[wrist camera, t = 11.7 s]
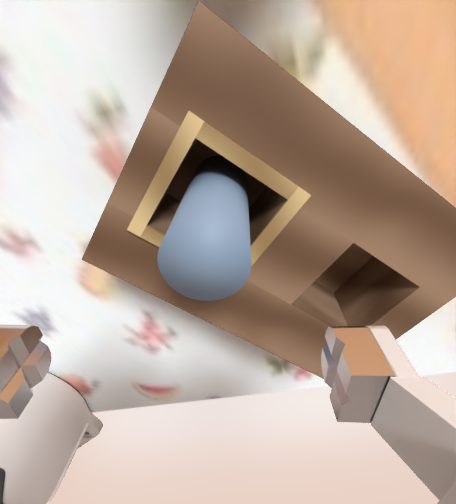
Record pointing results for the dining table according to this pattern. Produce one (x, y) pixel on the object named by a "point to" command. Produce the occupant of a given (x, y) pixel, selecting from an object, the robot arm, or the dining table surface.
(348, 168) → the socket block
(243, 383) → the dining table surface
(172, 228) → the peg
